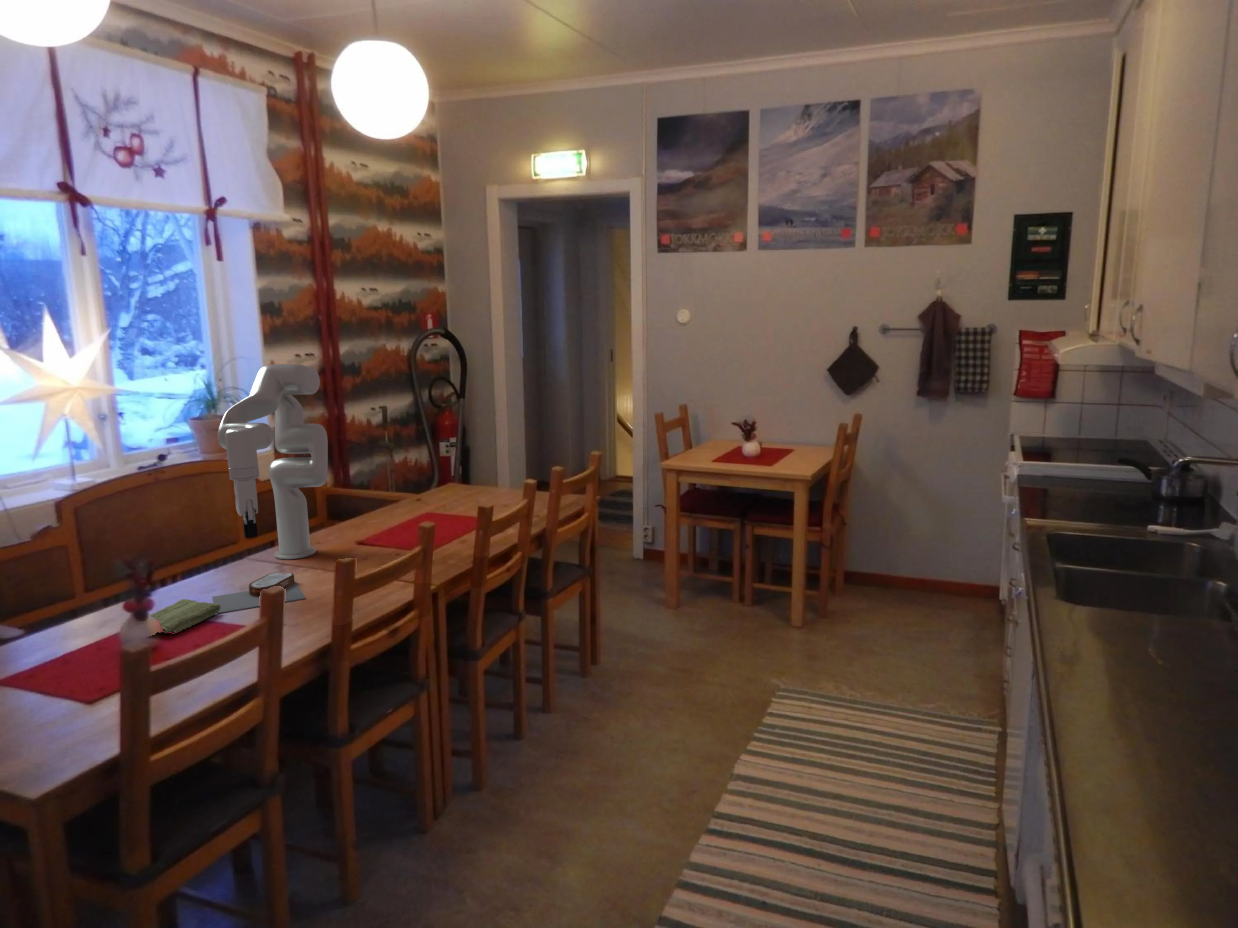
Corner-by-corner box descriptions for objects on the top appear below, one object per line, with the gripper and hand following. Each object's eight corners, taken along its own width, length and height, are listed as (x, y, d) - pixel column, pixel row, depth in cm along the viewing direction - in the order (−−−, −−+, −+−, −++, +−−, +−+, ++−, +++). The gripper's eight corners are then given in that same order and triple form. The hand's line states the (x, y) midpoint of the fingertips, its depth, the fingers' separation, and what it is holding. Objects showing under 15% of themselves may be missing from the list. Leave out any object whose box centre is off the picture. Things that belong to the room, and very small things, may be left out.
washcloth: (129, 632, 208) (127, 620, 207) (185, 607, 224) (184, 596, 224) (170, 638, 204) (169, 625, 203) (225, 612, 220) (224, 600, 220)
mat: (212, 597, 233) (212, 596, 233) (296, 584, 244) (296, 583, 244) (217, 613, 220) (217, 612, 220) (305, 598, 231) (305, 597, 231)
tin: (242, 595, 233) (270, 599, 232) (242, 584, 233) (269, 588, 231) (274, 578, 248) (300, 582, 246) (274, 568, 247) (300, 571, 246)
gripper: (226, 469, 237) (233, 532, 241) (232, 479, 224) (239, 545, 228) (255, 466, 241) (261, 528, 245) (262, 476, 228) (269, 541, 232)
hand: (251, 536), depth 236 cm, fingers closed
